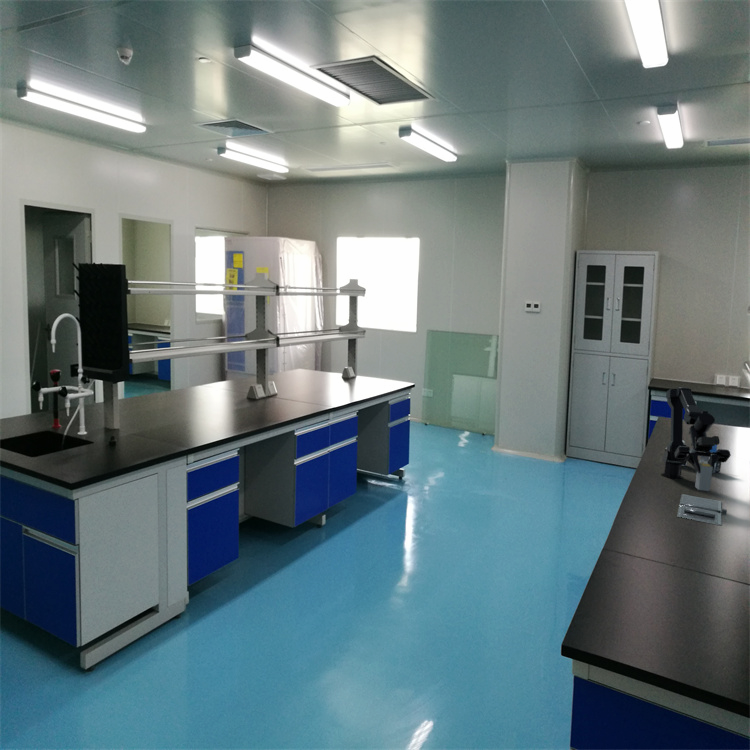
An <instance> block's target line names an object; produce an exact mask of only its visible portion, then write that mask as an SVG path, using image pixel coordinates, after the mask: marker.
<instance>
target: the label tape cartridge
mask: <svg viewBox="0 0 750 750" xmlns="http://www.w3.org/2000/svg"><path fill="white" fill-rule="evenodd" d="M717 447H718V445H715V446H712V450H710V452H716V451H717V450H718V448H717ZM708 461H709V457H704V456H699V463H706V464H708ZM721 467H722V462H716V463H715V465H714V470H713V474H717V473H721V469H722V468H721Z"/></svg>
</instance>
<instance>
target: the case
mask: <svg viewBox="0 0 750 750" xmlns="http://www.w3.org/2000/svg"><path fill="white" fill-rule="evenodd" d="M727 512H728V510H727V509H726V508H722V501H721V500H717V499H716V500H715V499H710V498H705V497H699V496H694V495H689V494H683V493H681V495H680V499H679V504H678V510H677V514H676V517H677V518H681V517H682V519H686V518H687V520H691V519H692V520H691V521H697V522H701V523H706V524H711V525H716V526H722V515H724V516H726V515H727V514H728V513H727Z"/></svg>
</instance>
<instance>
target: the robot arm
mask: <svg viewBox="0 0 750 750" xmlns="http://www.w3.org/2000/svg"><path fill="white" fill-rule="evenodd" d="M665 398H666V400H667V401H666V402H667V404H668V406H669V408H670V411H671V412H670V441H669V443H668V444H667V446H666V448H667V449H666V451H665V450H664V453H663V455H662V457H661V459H662V462H663V463H664V472H663V473H661V475H662V476H665V477H667V478H669V479H673V480H674V479H675V480H677V479H684V476H682V470H683V466H682V465H686V462H687V463H689V465H691V466H692V467H693V468H694V469H695V470H696V473H697V472H698V473H700V472H701V471H700V466H699V463H700V461H699V457H700V456H704V457H709V461H708V464H710V465H711V466H712V467H713V470H714V465H715V463H716V462H721V463H726V462H727V461H728V460H729V458H730V457H731V455H732V454H731V452H730V450H729V449H723V448H717V451H716V452H710V450H712V446H715V445H717V446H718V445H720V437H719V436H718V435H714V436H708V435H707V432H709V431H710V430H711V428H712V426H713V425H714V423H716V418H715V417H714V416H713V415H712V414H711V413H709V412H708V410H703V409H702V408H701V407H699V406H698V405H697V403H696V400H695V399H694V396H693V394H692V389H691V388H690V387H682V386H681V387H677V388H669V390H667V391H666V394H665ZM683 410H684V411H685V413H684V411H683ZM683 421H684V422H685V424H686V425H689V426H690V427H689V429H688V430H689V431H688V435H690V440H691V442H690V446H691V447H692V448H691V447H690V446H687V445H686V444H685V445H684V443H683V441H684V440H683V432H684V431H683V430H684V429H683V427H684V425H683V424H684V422H683ZM682 440H683V441H682ZM686 466H687V465H686ZM713 470H712V475H713V474H714V473H713Z"/></svg>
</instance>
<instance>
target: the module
mask: <svg viewBox="0 0 750 750" xmlns="http://www.w3.org/2000/svg"><path fill="white" fill-rule="evenodd" d="M699 466H700V471H701V472H700V473H698V472H697V471H696V476H695V485H694V487H695V488H696V489H697V490H698V491H707V492H709V491H710V490H711V483H712V479H713V477H712V476H713V474H712V470H713V467H712V466H711V465H710V464H706V463H700V462H699Z"/></svg>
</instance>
